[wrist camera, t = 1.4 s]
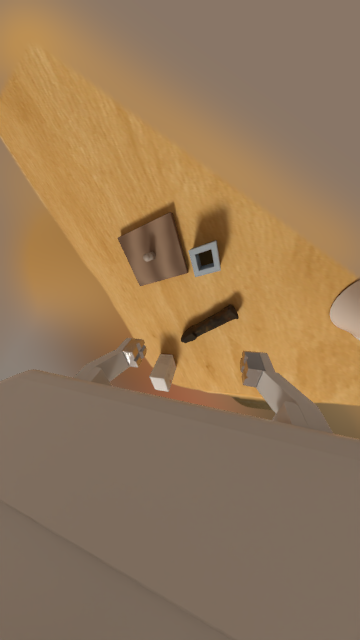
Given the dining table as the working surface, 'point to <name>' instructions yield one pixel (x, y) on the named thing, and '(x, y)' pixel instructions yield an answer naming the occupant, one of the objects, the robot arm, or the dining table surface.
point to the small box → (163, 372)
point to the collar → (207, 268)
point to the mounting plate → (155, 250)
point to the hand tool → (210, 323)
